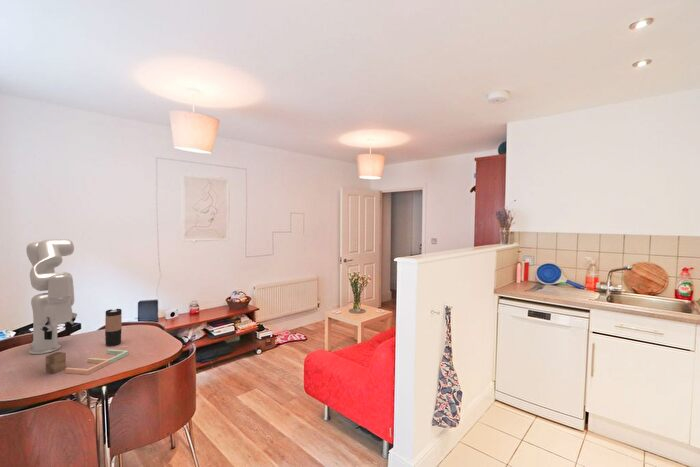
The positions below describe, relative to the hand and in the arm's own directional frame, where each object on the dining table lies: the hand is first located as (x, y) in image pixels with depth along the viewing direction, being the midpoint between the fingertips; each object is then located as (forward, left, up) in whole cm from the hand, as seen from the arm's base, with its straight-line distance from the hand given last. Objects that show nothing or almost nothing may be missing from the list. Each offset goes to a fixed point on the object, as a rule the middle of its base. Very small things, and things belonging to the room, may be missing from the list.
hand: (58, 335), depth 150 cm
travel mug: (-3, +33, -17) cm, 37 cm away
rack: (+11, +10, -17) cm, 23 cm away
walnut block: (-1, -1, -17) cm, 17 cm away
